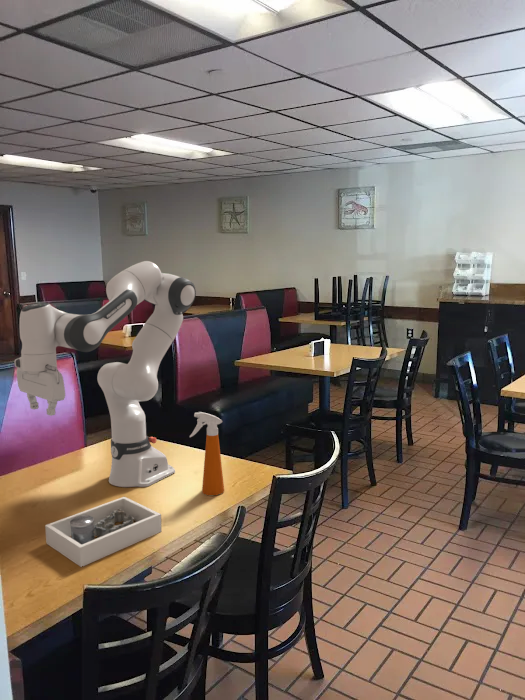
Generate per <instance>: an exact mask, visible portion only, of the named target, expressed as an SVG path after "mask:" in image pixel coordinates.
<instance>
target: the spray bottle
mask: <svg viewBox="0 0 525 700" xmlns="http://www.w3.org/2000/svg"><path fill="white" fill-rule="evenodd" d="M193 417H194V418H197V420H196V421H197V424H196V426H195V427H194V429H193V431H192V433H191V434H190V435H189V438H192V437H194V436H195V435H196V434H197V433H198V432H199V431H200V430H201V429H202V428H203V426H205V425H207V427H206V439H205V440H206V441H205V452H204V462H203V465H204V466H203V476H202V487H201V492H202V494H204V495H205V494H206V495H205V496H209V495H216V496H219V495H218V494H220V495H222V494H223V493H224V492H225V485H224V483H225V482H224V475H223V474H224V473H223V466H222V457H221V456H222V455H221V449H220V448H221V447H220V439H219V428H218V425H220V424H222V423H223V420H222V419H220V418H219V417H217V416H216V415H213V414H210V413H206V412H202V411H198V412H194V414H193ZM221 493H222V494H221Z"/></svg>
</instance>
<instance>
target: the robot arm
mask: <svg viewBox="0 0 525 700" xmlns="http://www.w3.org/2000/svg"><path fill="white" fill-rule="evenodd" d="M105 291H106V292H105V293H106V296H107V299H108V302H107V303H106V304H104V305H103V306H101V308H98V310H97V311H96V312H93V313H91V314H90V313H89V314H76V313H68V312H65V311H63V310H59V308H58V309H57V308H56V307H54V306H52V304H51V303H49V302H37V303H36V302H34V303H31V304H27V305H25V306H24V307H22V308H21V310H20V314H19V338H20V341H21V350H20V354H21V355H20V357H17V358H16V359H14V367H15V368H16V381H17V387H18V389H19V391H20V392H23V393H25V394H26V397H27V400H28V402H29V407H30V410H38V409H39V402H38V401H37V398H40V399H44V400H46V401H47V404H48V405H47V408H46V415H47V416H49V417H52V416H56V408H57V406H58V405H57V404H58V402H59V401H65V398H66V389H65V383H64V377H63V374H62V373H61V372H60V371H59V369H58V364H57V362H58V361H57V347H63V348H67V349H73V350H76V351H79V352H82V353H89V352H92V351H94V350H96V349H98V347H99V346H100V345H101V344H102V342H103V340H104V339H105V337H106V336H107V334H108V333H110V331H111V330H112V329H113V328H115V327H116V326H117V325H118V324H119V323H120V322H122V320H124V319H125V318H126V317H127V316H128V315H130V314H131V313H132V312H133V311H134V310H135V308H136V307H137V305H139V304H140V303H142V302H143V301H145V302H146V303H151V304H153V305H155V306H154V310H153V313H151V315H150V316H149V317H148V319H147V320H146V321H145V323H144V324H143V326H142V328H141V329H140V330H139V332H138V333H137V334H136V337H134V339H133V341H132V344H131V347H132V354H131V357H130V360H129V361H128V363H125V362H119V361H116V362H115V361H114V362H109V363H105V364H103V366H101V367H100V369H99V370H98V373H97V378H96V379H97V383H98V385H99V387H100V388H101V390H102V392H103V394H104V397H105V401H106V404H107V407H108V408H107V409H108V411H109V415H110V426H111V439H110V453H111V465H110V466H111V468H110V473H109V478H108V482H109V484H111V485H112V486H116V487H120V488H121V487H122V488H131V487H133V488H134V487H142V488H146V487H149V486H151V485H153V484H155V483H157V482H159V480H160V481H162V480H163V478H164V479H165V477H166V478H167V476H168V477H169V475H170V476H172V475H174V474H175V473H176V469H175V467H173V466H172V465H170V464H169V461H168V458H167V456H166V454H164V453H163V452H162V451H160V450H158V448H155V447H154V446H152V445H151V443H152V444H156V443H157V437H155V436H154V437H153V436H148V435H147V422H146V414H145V411H144V410H143V408H142V406H141V405H140V402H147V401H149V400H151V399H152V398H154V397H155V395H156V394H157V392H158V390H159V381H158V371H159V367H160V364H161V362H162V360H163V358H164V357H165V355H166V353H167V351H168V350H169V348H170V347H171V345H172V343H173V342H174V340H175V338H176V336H177V335H178V334H179V331H180V329H181V327H182V324H183V321H184V315H183V314H185V313H186V312H187V311H188V310H189V309H190V308H191V307H192V305H193V304H194V301H195V300H196V293H197V291H196V287H195V284H194V282H193V281H191V280H190V279H188V278H185V277H183V276H179V275H176V274H171V273H164V272H162V271H161V269H160V267H159V266H158V265H157V264H156V263H154V262H153V261H149V260H144V261H140V262H137V263H135V264H133V265H131V266H129V267H127V268H125V269H123V270H121V271H119V273H117V274H115V275H114V276H113V277H111V279H110V280H109V281H108V282H107V284H106V288H105ZM173 473H174V474H173ZM171 474H172V475H171Z"/></svg>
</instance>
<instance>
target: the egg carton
mask: <svg viewBox="0 0 525 700" xmlns="http://www.w3.org/2000/svg"><path fill="white" fill-rule="evenodd" d="M133 519H135V517H134V516H133V517H131V516H130V515H129V517H128V516H126V513H125V512H124V511H122V510H120V508H118V509H116V510H115V511H113V512H111V514H110V515H109V516H106V518H104V519H103V520H100V521H99V522H98V523H96V524H95V525H94V537H96V536H97V537H102V536H104V535H107V534H109V533H111V532H114V531H116V530H119V529H121V528H124V527H126V526H128V525H131V524H133V523H134V520H133ZM121 522H122V524H117V525H115V524H116V523H121Z"/></svg>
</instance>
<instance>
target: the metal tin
mask: <svg viewBox="0 0 525 700" xmlns="http://www.w3.org/2000/svg"><path fill="white" fill-rule="evenodd" d="M70 526H71V536H70V538H72V539H74V540H75V541H77V542H78V543H80V544H81V545H82V544H85V543H87V542H89V541H92V540H94V539H95V536H94V518H93V517H92V516H87V515H84V516H78V517H75V518H73V519H72V520H71V521H70Z"/></svg>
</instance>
